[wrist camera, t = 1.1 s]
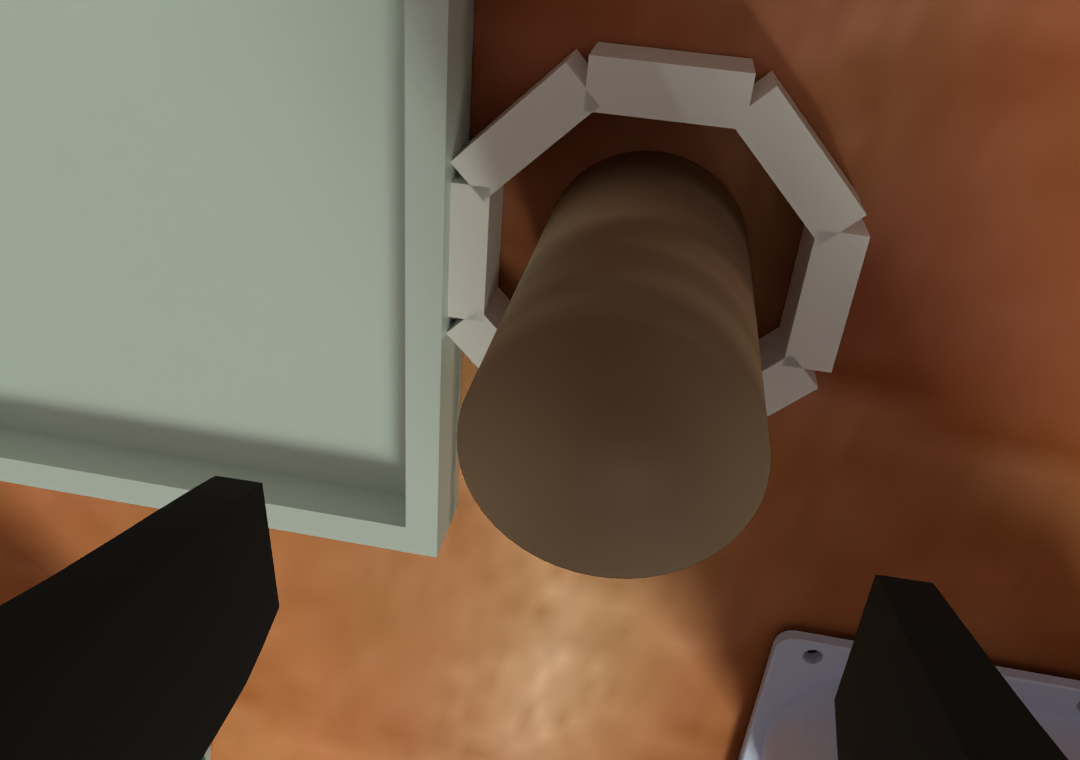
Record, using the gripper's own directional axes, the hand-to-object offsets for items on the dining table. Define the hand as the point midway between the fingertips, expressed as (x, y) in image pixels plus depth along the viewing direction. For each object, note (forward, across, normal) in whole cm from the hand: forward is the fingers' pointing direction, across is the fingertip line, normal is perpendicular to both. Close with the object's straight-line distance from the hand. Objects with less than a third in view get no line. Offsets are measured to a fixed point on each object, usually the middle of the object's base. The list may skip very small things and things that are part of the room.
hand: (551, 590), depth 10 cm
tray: (+10, +11, 0) cm, 15 cm away
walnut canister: (+10, 0, 0) cm, 10 cm away
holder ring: (+10, 0, 0) cm, 10 cm away
